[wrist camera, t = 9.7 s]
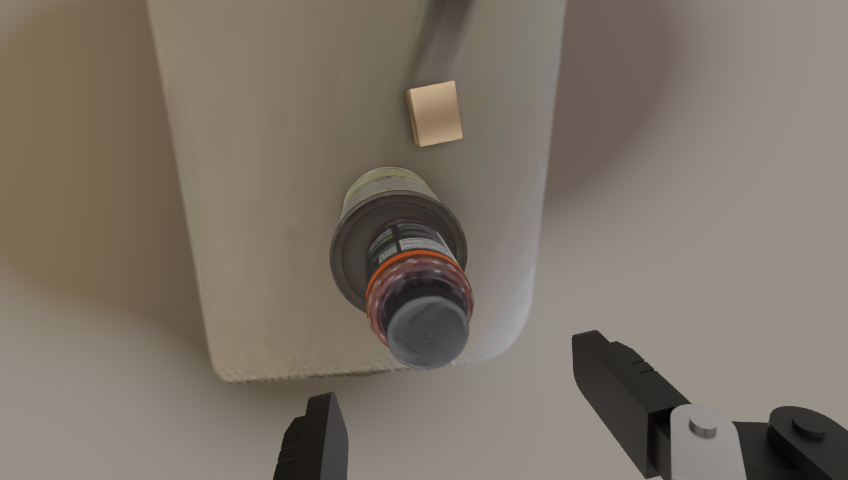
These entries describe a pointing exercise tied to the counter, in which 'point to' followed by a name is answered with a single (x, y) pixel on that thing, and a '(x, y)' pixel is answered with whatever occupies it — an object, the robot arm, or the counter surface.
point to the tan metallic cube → (434, 113)
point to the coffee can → (373, 208)
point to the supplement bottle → (417, 294)
